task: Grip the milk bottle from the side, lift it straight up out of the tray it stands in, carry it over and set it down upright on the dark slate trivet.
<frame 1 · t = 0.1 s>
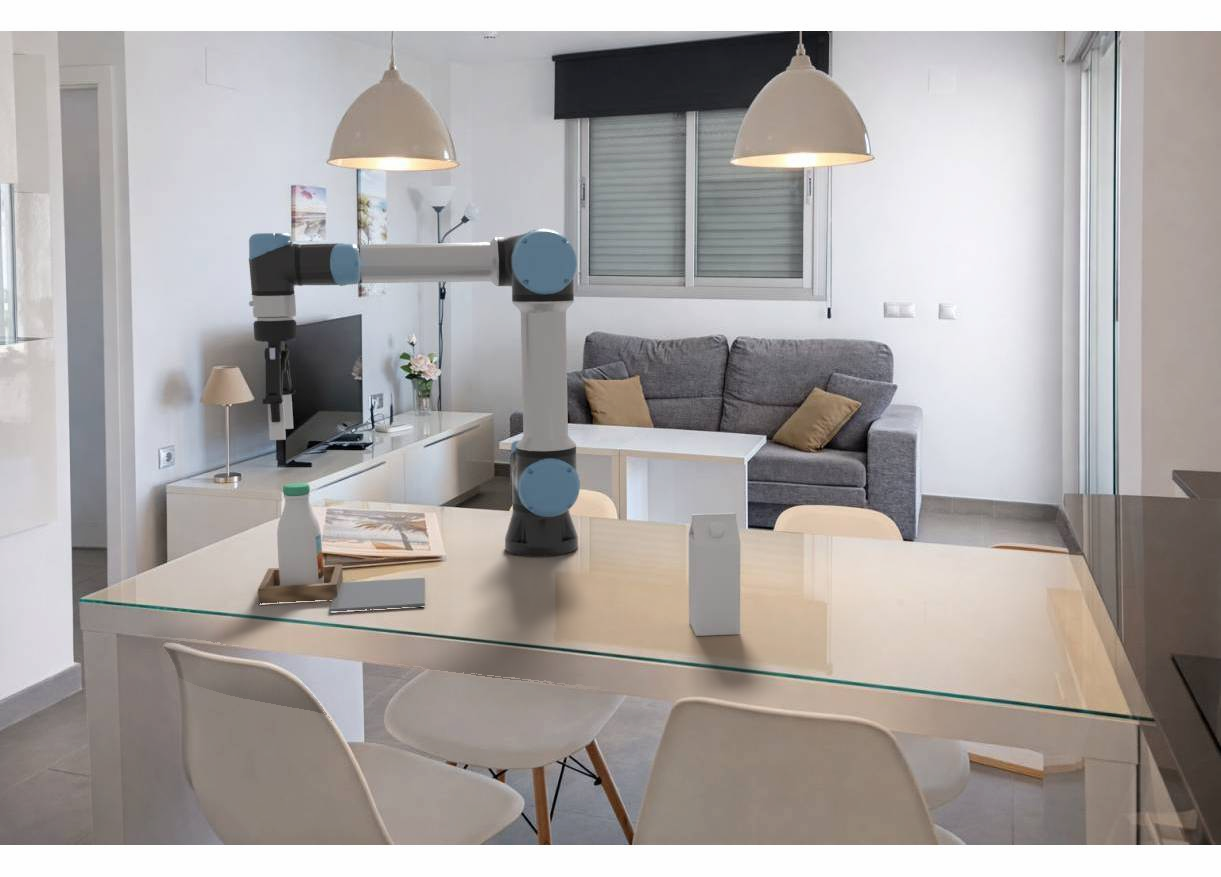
hand: (282, 434, 206), 28 cm above the table, tool pointing down, fingers open, 13 cm apart
tray: (302, 592, 202), on the table
milk carton: (714, 630, 179), on the table
milk bottle: (302, 593, 202), resting in tray
trivet: (379, 597, 198), on the table
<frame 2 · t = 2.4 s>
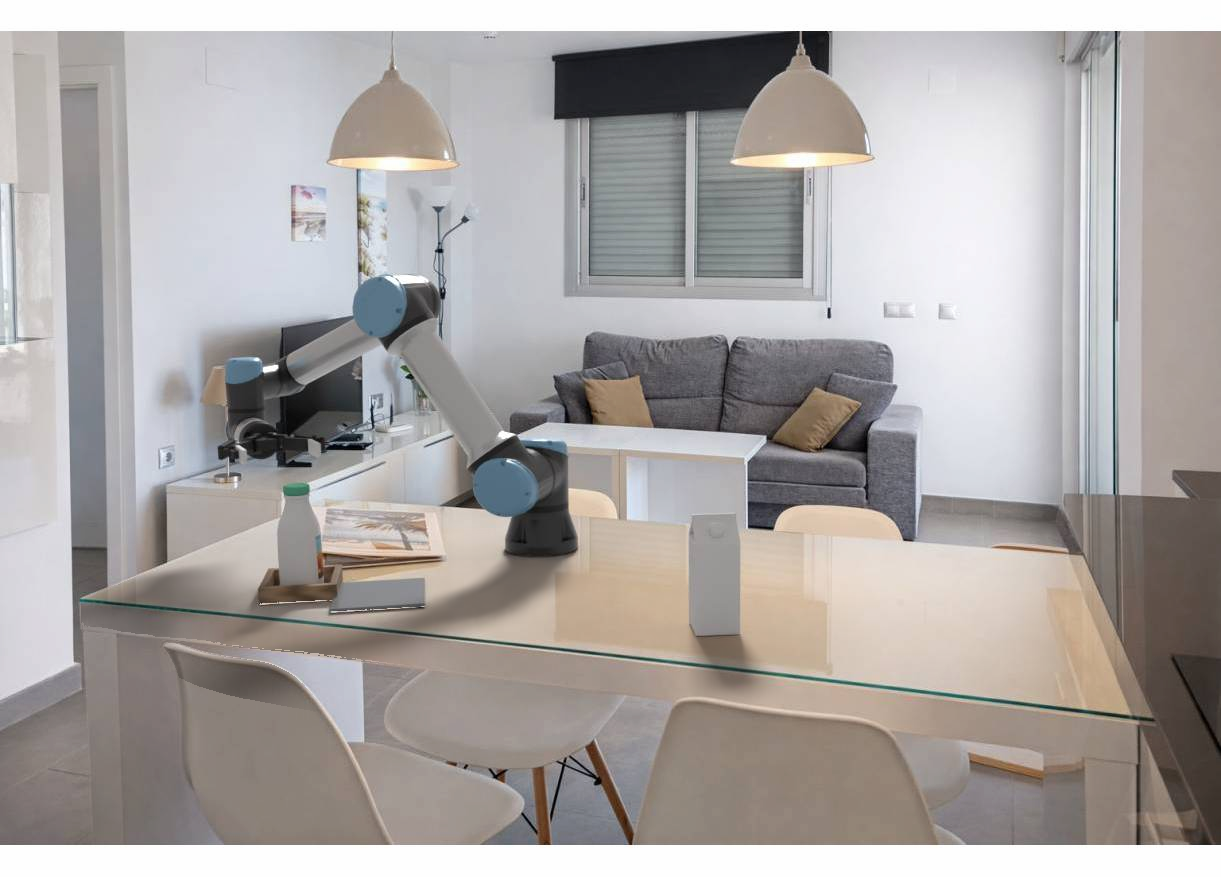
hand: (282, 454, 206), 24 cm above the table, tool horizontal, fingers open, 13 cm apart
nothing on the table moved.
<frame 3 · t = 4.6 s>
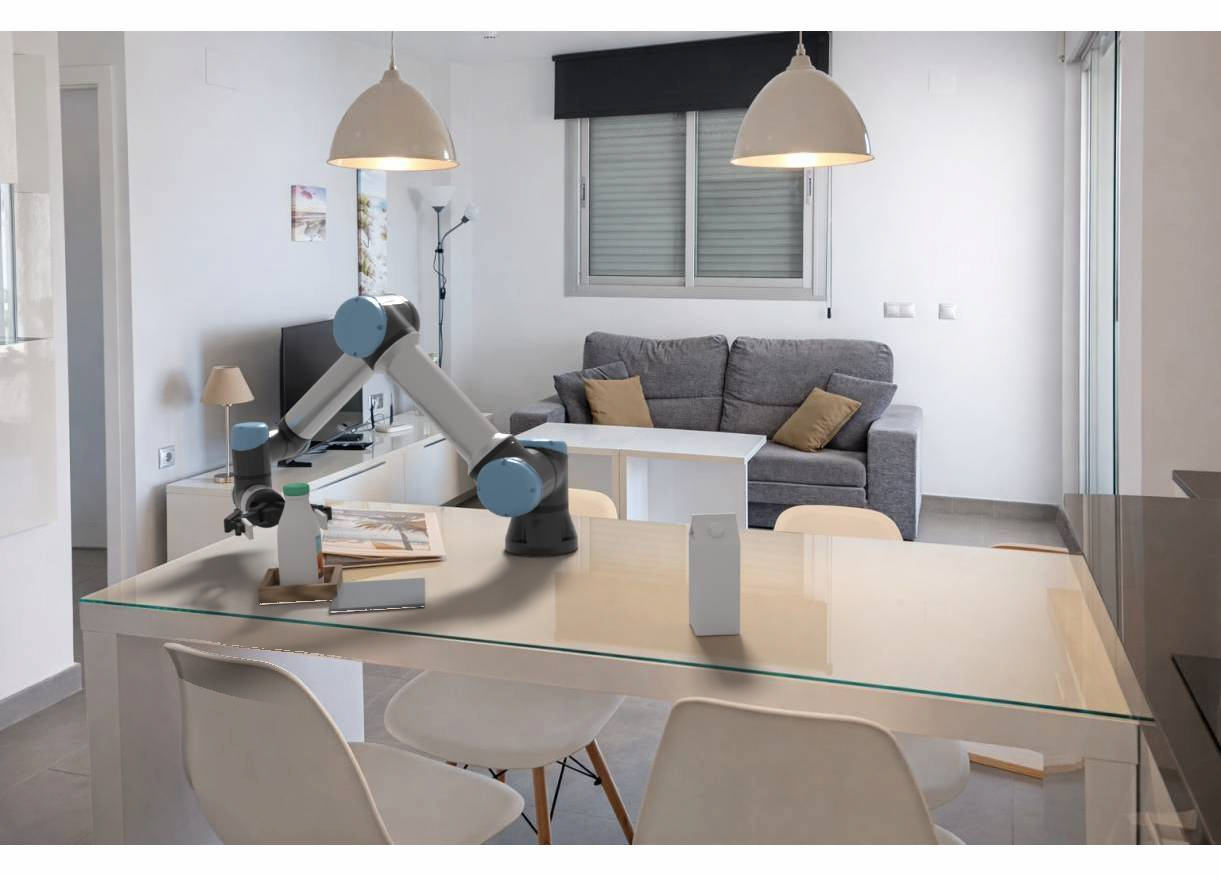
hand: (288, 527, 205), 11 cm above the table, tool horizontal, fingers open, 13 cm apart
nothing on the table moved.
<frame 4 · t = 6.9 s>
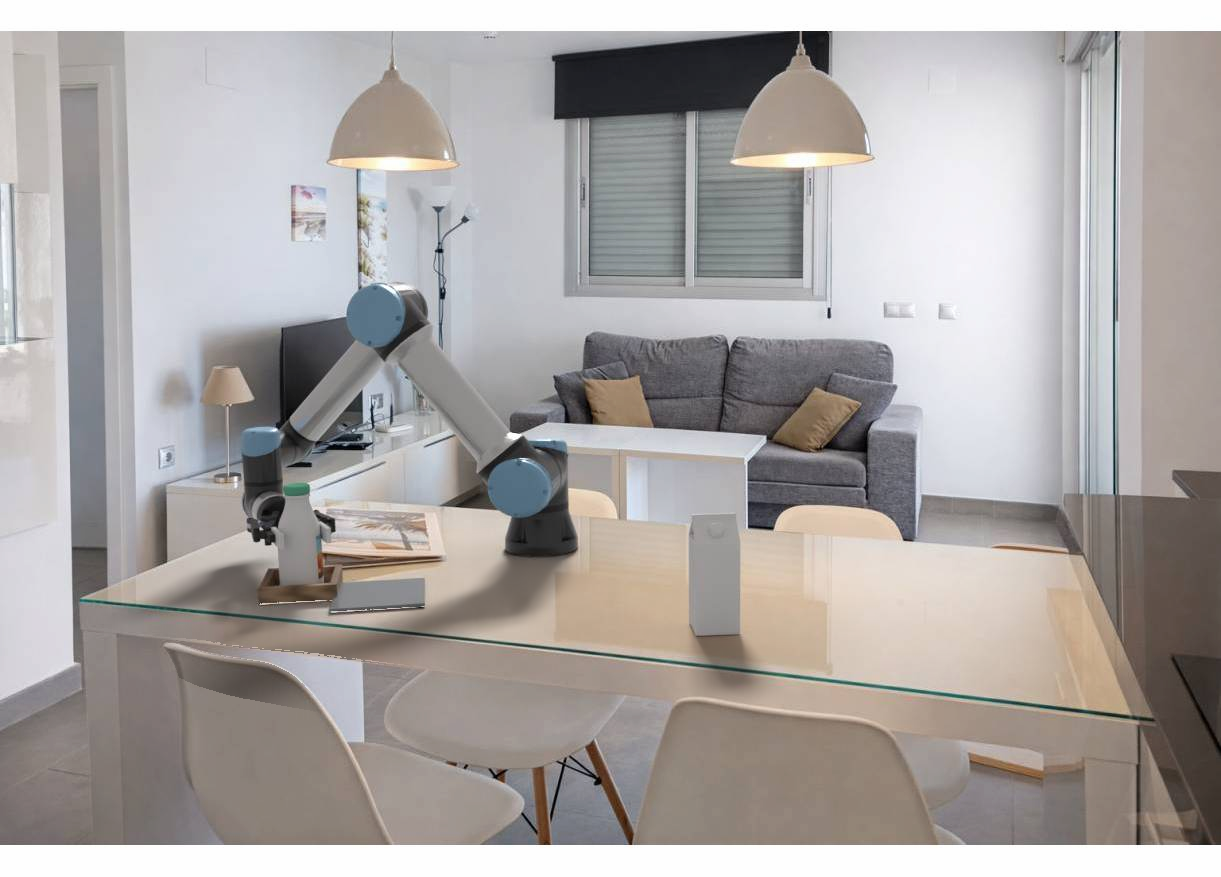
hand: (305, 538, 196), 11 cm above the table, tool horizontal, fingers closed on milk bottle, 7 cm apart
milk bottle: (302, 593, 202), resting in tray, touching gripper
everything else where it was.
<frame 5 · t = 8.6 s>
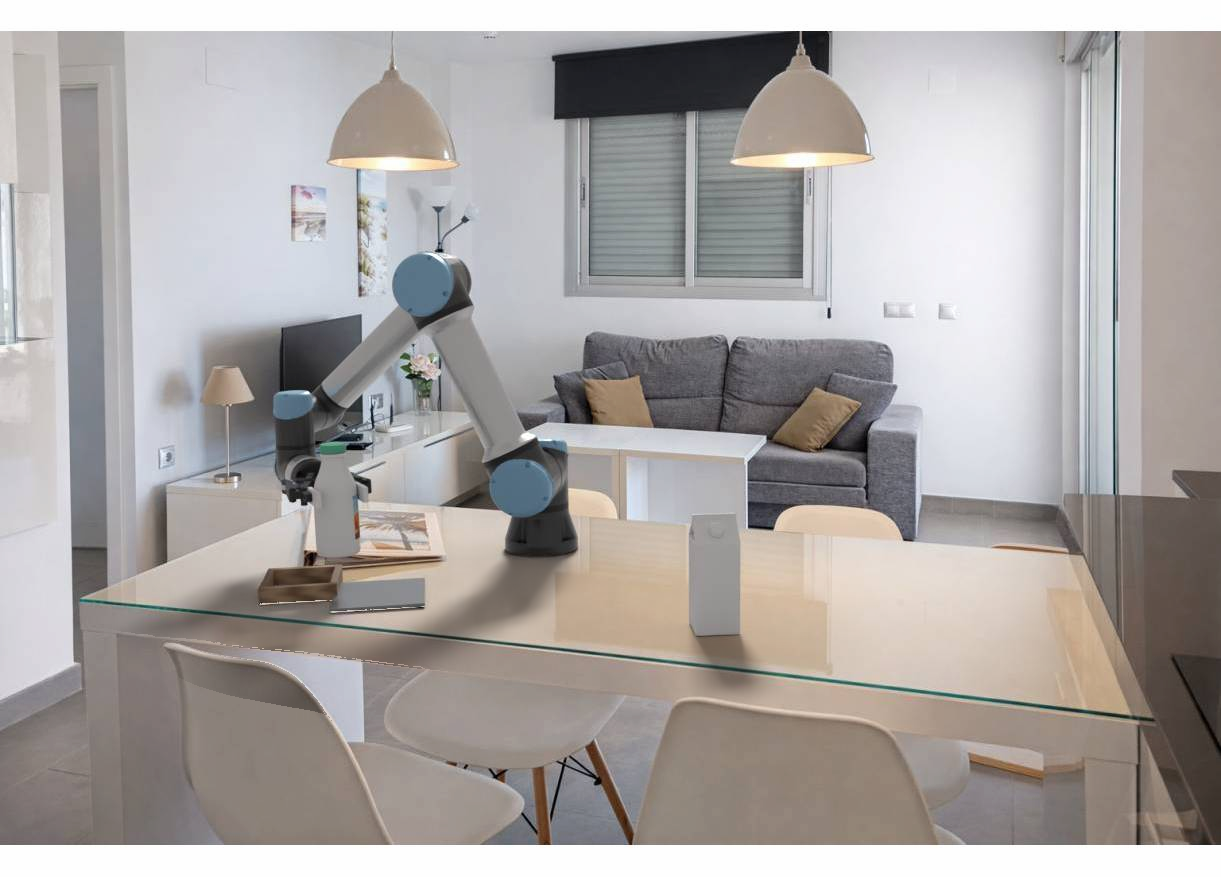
hand: (343, 498, 193), 19 cm above the table, tool horizontal, fingers closed on milk bottle, 7 cm apart
milk bottle: (339, 554, 199), point 7 cm above the table, touching gripper
everything else where it was.
when the fingers open (13 cm above the table, at t = 10.6 s): milk bottle drops 1 cm, resting on trivet.
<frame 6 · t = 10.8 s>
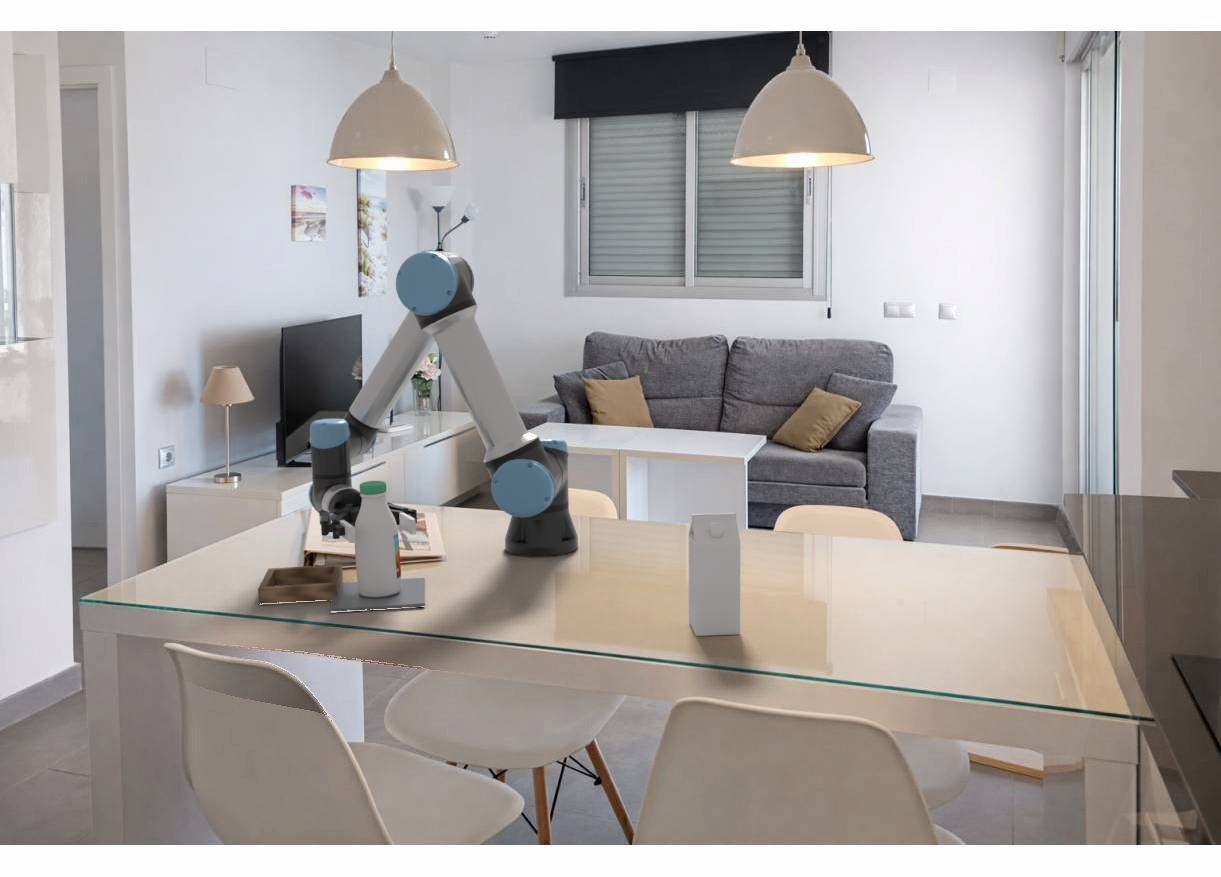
hand: (383, 531, 193), 13 cm above the table, tool horizontal, fingers open, 10 cm apart
milk bottle: (380, 593, 198), point 1 cm above the table, touching trivet
everything else where it was.
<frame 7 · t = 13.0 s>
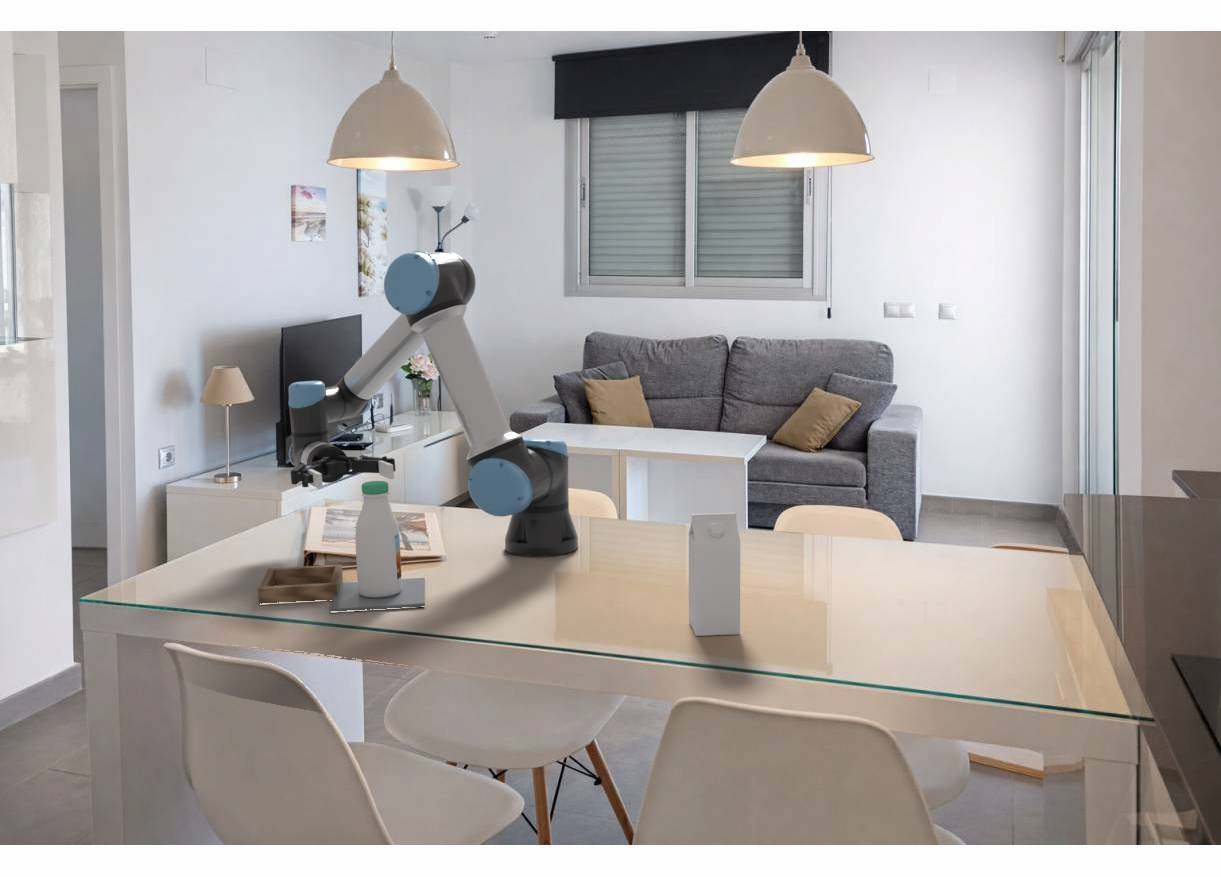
hand: (356, 476, 206), 20 cm above the table, tool horizontal, fingers open, 13 cm apart
nothing on the table moved.
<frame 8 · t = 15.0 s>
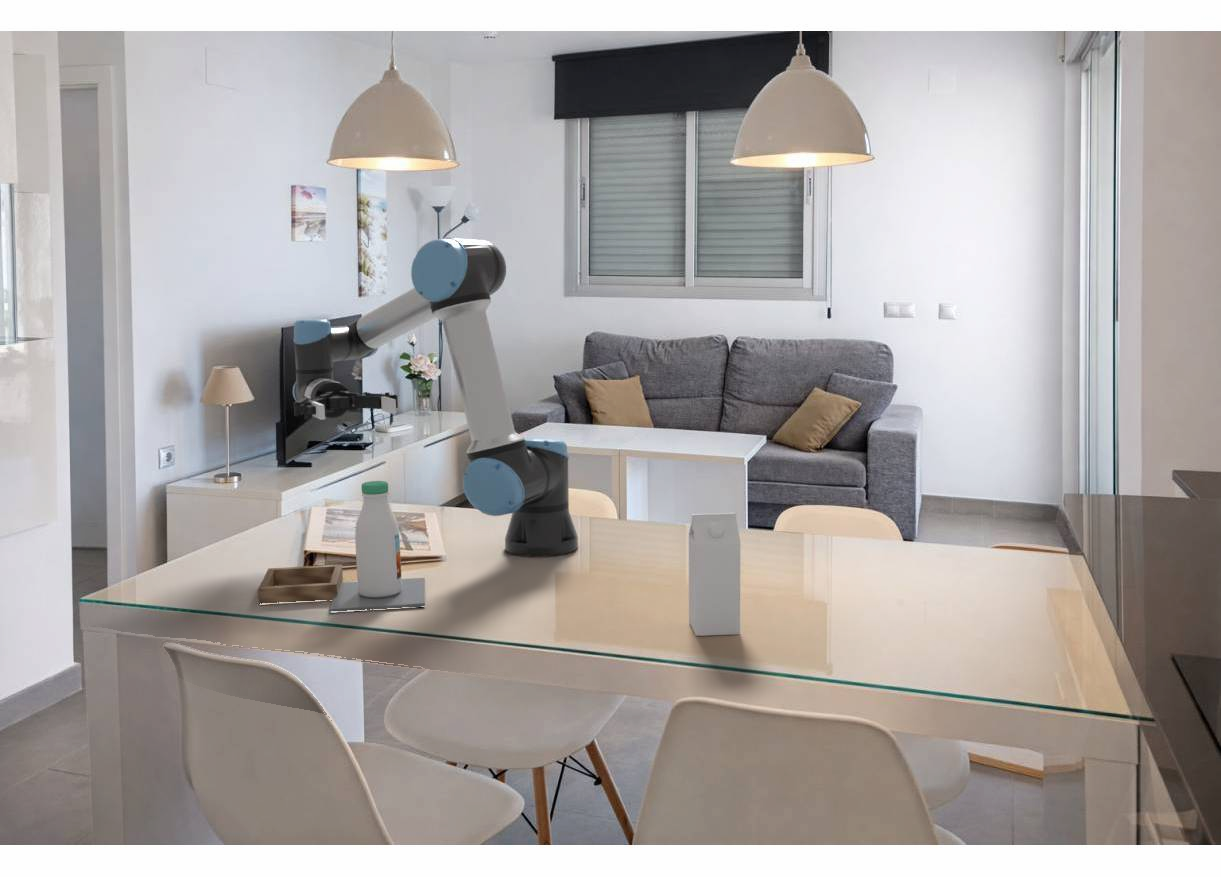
hand: (359, 409, 207), 32 cm above the table, tool horizontal, fingers open, 13 cm apart
nothing on the table moved.
at the end: milk bottle inside the target area on the trivet (0.1 cm from its centre), point 0.6 cm above the trivet's base; milk bottle tilted 0°; the gripper is holding nothing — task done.
